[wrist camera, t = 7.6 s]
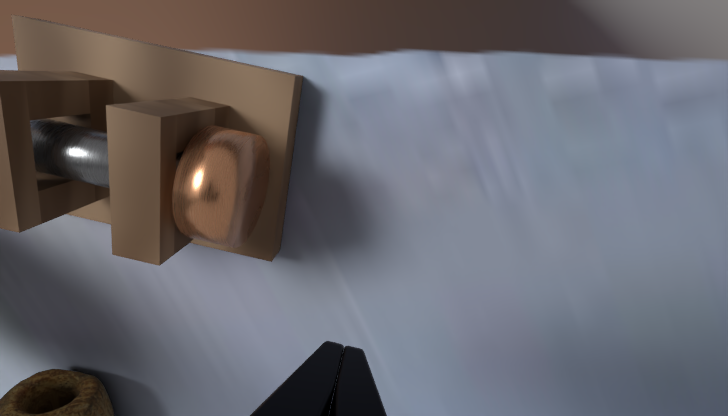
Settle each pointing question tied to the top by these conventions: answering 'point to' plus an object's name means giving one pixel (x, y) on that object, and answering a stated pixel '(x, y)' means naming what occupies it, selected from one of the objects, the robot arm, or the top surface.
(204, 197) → the shaft
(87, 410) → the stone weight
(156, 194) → the bearing stand
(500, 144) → the top surface
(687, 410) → the top surface
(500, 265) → the top surface
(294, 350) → the top surface
